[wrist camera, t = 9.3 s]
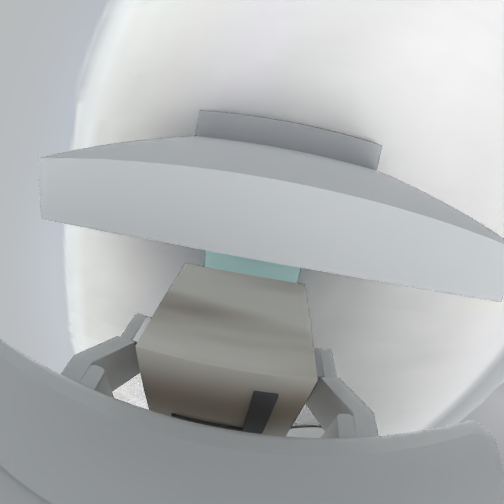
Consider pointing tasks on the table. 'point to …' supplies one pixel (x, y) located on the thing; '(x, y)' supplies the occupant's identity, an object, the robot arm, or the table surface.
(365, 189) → the screen
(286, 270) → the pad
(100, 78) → the table surface
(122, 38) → the table surface
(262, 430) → the letter cube
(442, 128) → the table surface
